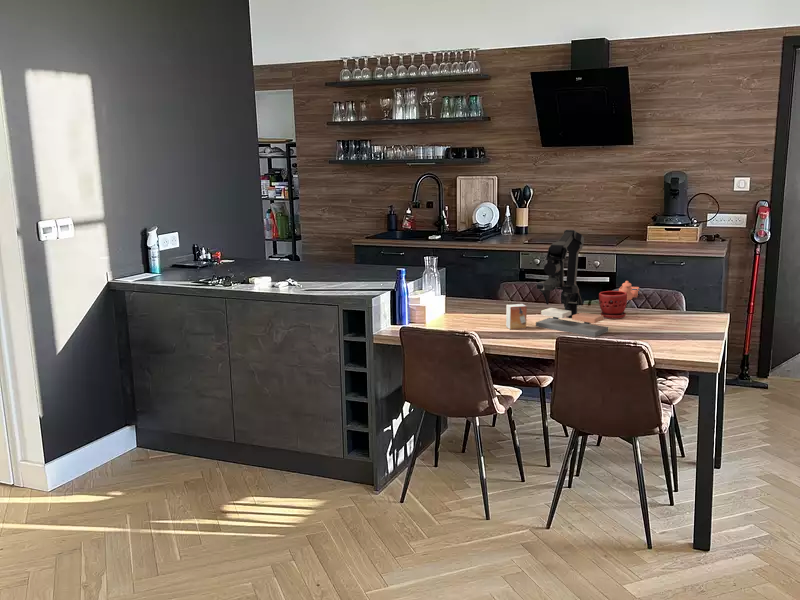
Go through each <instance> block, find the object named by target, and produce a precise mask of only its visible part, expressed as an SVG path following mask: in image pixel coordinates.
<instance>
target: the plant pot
mask: <svg viewBox="0 0 800 600" xmlns="http://www.w3.org/2000/svg"><path fill="white" fill-rule="evenodd" d="M627 303H628V300H627V293H626V292H622V291H619V290H606V291H600V292H599V293H598V305H599V307H600V308H599V309H600V311H601V312H600V315H603V319H604V318H605V319H608V320H609V319H610V320H611V319H613V320H619V319H623V318H624V317H625V316H626V315H627V314H626V312H625V310H626V308H627Z"/></svg>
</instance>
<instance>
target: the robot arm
mask: <svg viewBox="0 0 800 600" xmlns="http://www.w3.org/2000/svg"><path fill="white" fill-rule="evenodd" d="M584 244H585V238H584V236H583V234H581V233H579V232H577V231H576V230H574V229H565V230H564V231H563V234H562V235H561V237H560V238H559V239H558V241H555V242H552V243H551V244H550V245H549V247H548V249H547V253H546V258H545V260H546V261H547V263H546V264H544V267H543V271H544V273H545V274H546V275H548V278H547V279H546V280H543V281H539V282H537V283H536V285H535V287H536V288H535V289H536V290H537V289H538V291H539V292H540V293H542V295H543V298H544V301H545V304H546V305H550V296H551V292H552V291H554V290H560V291H561V293H560V303H561V305H564V306H563V307H564V310H569V311H571V315H570V316H567V317H566V318H571V319H572V315H575V314H578V306H582V302H583V301H582V298H581V294H580V289H579V287H578V285H577V276H578V267H579V266H578V263H579V253H580V252H581V251H582V249H583V247H584ZM567 256H568V257H567ZM566 257H567V269H566V273H565V270H564V269H565V260H566ZM565 276H566V280H565V282H564V277H565Z"/></svg>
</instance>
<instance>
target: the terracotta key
mask: <svg viewBox="0 0 800 600" xmlns="http://www.w3.org/2000/svg"><path fill="white" fill-rule="evenodd" d="M571 320H572V321H576V322H582V323H585V324H596V323H599V322H602V321H604V317H603V315H601V314H594V313H588V312H582V311H581V312H579V313H578V312H577V314H575V315H572V318H571Z"/></svg>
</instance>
